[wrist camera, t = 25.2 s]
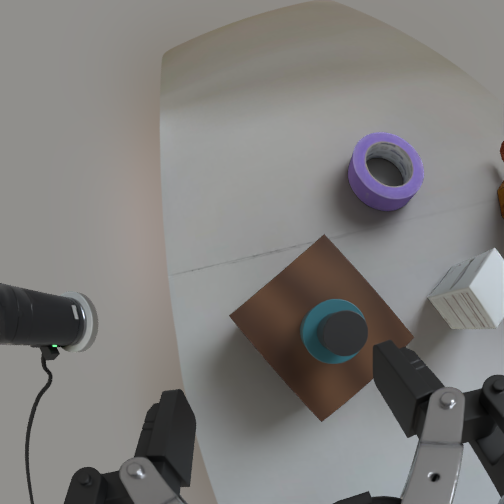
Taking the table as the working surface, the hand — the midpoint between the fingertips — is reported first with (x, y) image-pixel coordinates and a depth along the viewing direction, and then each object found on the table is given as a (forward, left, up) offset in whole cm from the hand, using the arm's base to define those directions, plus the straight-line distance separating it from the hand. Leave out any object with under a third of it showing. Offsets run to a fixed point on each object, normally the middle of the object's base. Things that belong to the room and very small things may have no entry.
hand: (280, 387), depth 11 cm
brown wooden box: (+4, -1, -30) cm, 31 cm away
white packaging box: (+23, -13, -30) cm, 41 cm away
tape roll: (+28, +9, -30) cm, 43 cm away
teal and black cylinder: (+4, -1, -20) cm, 21 cm away
